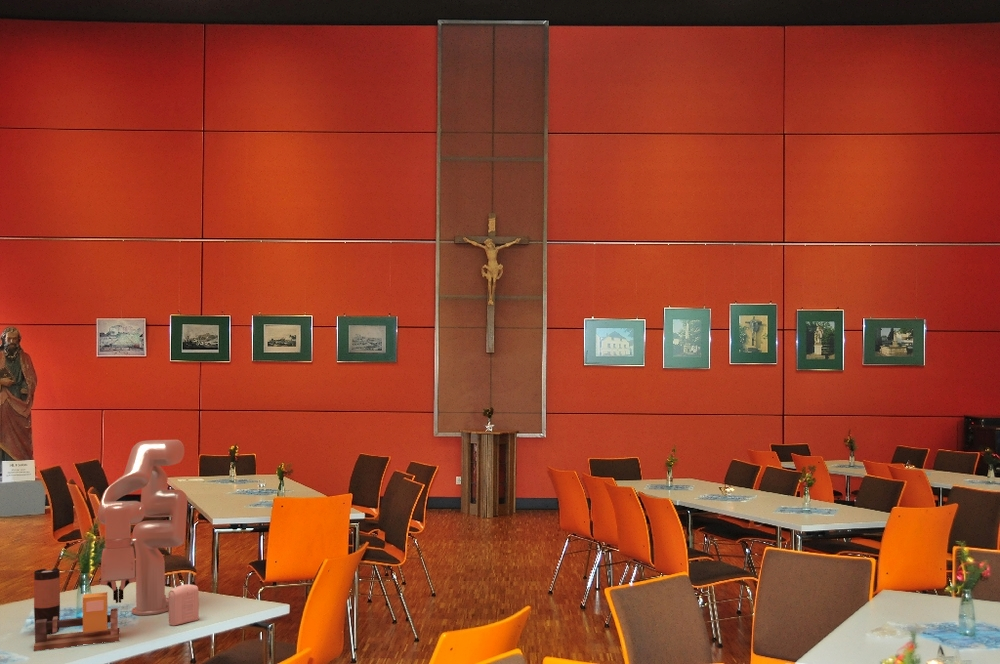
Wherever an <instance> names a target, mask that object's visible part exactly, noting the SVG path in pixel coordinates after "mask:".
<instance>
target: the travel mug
mask: <svg viewBox="0 0 1000 664" xmlns="http://www.w3.org/2000/svg"><path fill="white" fill-rule="evenodd" d="M33 576H34V577H33V578H34V579H33V580H34V582H33V593H34V594H33V614H34V619H33V620H34V623H35V622H36V620H41V619H47V621H53V617H56V616H58V620H61V617H60V615H61V614H60V613H61V605H60V604H61V589H60V588H61V587H60V584H61V583H60V582H61V581H60V580H61V579H60V568H59V567H57V568H56V567H54V568H52V569H47V568H41V569H36V570H35V571H34V574H33ZM59 632H60V628H58V630H57V632H55V633H53V629H47V635H55V634H56V633H59Z"/></svg>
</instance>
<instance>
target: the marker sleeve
mask: <svg viewBox="0 0 1000 664" xmlns="http://www.w3.org/2000/svg"><path fill="white" fill-rule="evenodd" d="M107 615H108V592H107V591H106V592H96V593H86V594H85V593H84V594H83V596H82V618H83V626H82V632H83V633H84V632H93V631H103V630H107V629H108V627H109V625H108V624H109V623H107Z"/></svg>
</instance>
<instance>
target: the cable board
mask: <svg viewBox="0 0 1000 664" xmlns="http://www.w3.org/2000/svg"><path fill="white" fill-rule="evenodd" d="M118 610H119V609H118V607H117V608H110V614H107V623H108V624H110V628H107V630H103V631H93V632H84V633H83V631H76V632H75V631H74V632H69V633H59V634H56V633H55V632H57V630H58V628H59V629H64V628H73V627H80V626H82V627H83V617H76V618H66V619H60V620H58V616H56V617H53V621H47V619H41V620H36V622H35V621H34V645H33V652H38V651H37V650H40V651H46V650H45V649H49V650H55V649H54V648H58V649H65V648H64V647H67V648H72V647H71V646H75V647H78V646H77V645H83V644H93V643H102V642H103V643H102V644H105V643H104V642H110V643H116V642H115V641H119V642H120V633H119V632H120V627H119V626H118V623H119V621H118V620H119V617H118V613H119V612H118ZM47 629H53V633H54V634H49V635H47ZM57 633H58V632H57ZM93 645H94V644H93Z"/></svg>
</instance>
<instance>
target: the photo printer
mask: <svg viewBox="0 0 1000 664" xmlns="http://www.w3.org/2000/svg"><path fill="white" fill-rule="evenodd" d="M168 598H169V610H168V624H169V625H170V626H177V625H182V624H186V623H190V622H194V621H198V620H199V614H200V613H199V612H200V611H199V609H200V608H199V605H200V604H199V599H200V598H199V587H198V586H197V585H196V584H190V583H189V584H181V585H178V586H176V587H174V588H172V589H171V590H169V592H168Z"/></svg>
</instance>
